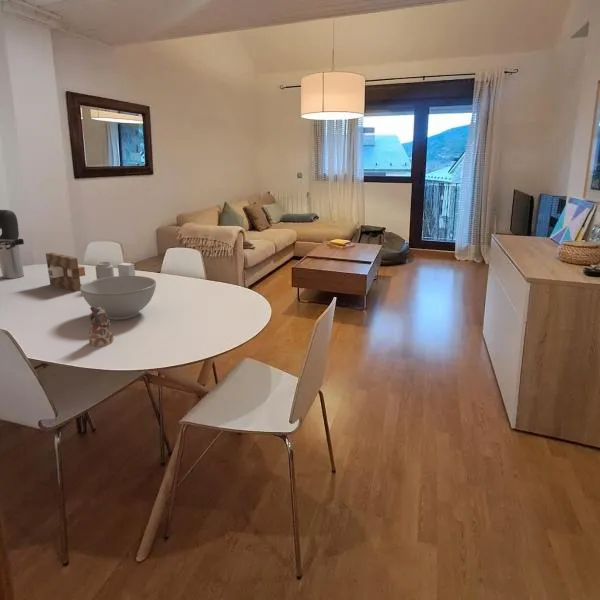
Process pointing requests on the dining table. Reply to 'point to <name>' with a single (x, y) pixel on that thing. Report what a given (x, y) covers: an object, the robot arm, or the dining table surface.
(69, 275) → the key terracotta
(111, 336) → the figurine
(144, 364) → the dining table surface
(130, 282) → the decorative bowl
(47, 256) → the key panel
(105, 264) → the can
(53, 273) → the key ivory
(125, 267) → the skincare box
